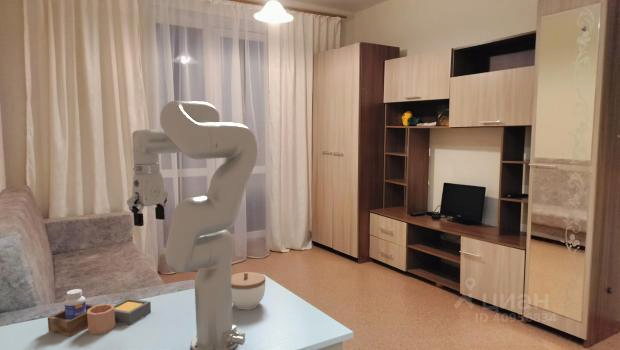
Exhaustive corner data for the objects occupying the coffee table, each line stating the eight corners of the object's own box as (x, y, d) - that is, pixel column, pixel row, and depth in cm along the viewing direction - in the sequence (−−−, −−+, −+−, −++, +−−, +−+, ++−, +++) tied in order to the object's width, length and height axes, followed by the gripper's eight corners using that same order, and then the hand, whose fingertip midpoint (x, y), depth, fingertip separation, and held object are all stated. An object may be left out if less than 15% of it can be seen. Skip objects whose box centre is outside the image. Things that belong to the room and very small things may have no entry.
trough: (102, 319, 127) (101, 306, 127) (70, 336, 117) (69, 321, 117) (81, 315, 130) (80, 302, 130) (48, 331, 120) (47, 317, 120)
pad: (144, 306, 131) (144, 303, 131) (129, 315, 125) (129, 312, 125) (128, 304, 133) (128, 301, 133) (112, 312, 127) (112, 309, 127)
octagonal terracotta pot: (120, 325, 124) (119, 305, 123) (101, 336, 117) (100, 315, 116) (102, 321, 126) (101, 302, 125) (83, 332, 119) (81, 312, 119)
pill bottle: (77, 327, 121) (75, 295, 120) (61, 326, 122) (59, 294, 121) (91, 319, 126) (88, 288, 125) (75, 318, 127) (73, 287, 126)
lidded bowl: (232, 297, 143) (231, 266, 142) (268, 297, 143) (267, 266, 142) (223, 313, 131) (221, 279, 130) (262, 313, 130) (262, 279, 129)
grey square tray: (150, 312, 132) (150, 301, 132) (129, 324, 124) (129, 313, 123) (128, 308, 135) (127, 298, 135) (106, 320, 127) (105, 309, 126)
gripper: (136, 172, 122) (139, 229, 124) (174, 167, 138) (176, 217, 140) (116, 171, 124) (120, 227, 126) (156, 166, 140) (158, 216, 142)
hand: (149, 222), depth 133 cm, fingers open, 9 cm apart
